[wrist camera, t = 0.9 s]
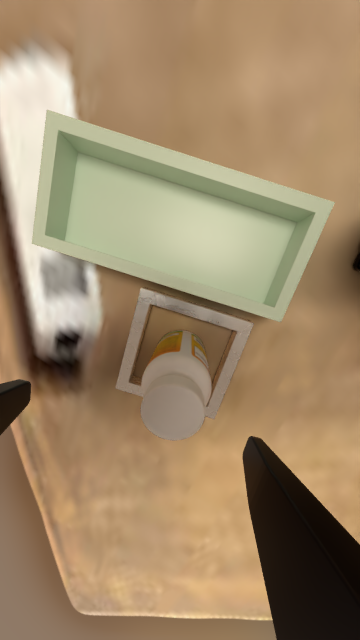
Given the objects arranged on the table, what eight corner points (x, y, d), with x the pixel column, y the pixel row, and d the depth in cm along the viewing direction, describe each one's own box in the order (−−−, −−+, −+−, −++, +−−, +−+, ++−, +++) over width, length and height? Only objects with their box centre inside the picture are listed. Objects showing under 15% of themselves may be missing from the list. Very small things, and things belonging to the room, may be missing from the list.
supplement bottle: (151, 366, 21) (120, 437, 12) (163, 322, 20) (139, 362, 11) (197, 380, 21) (201, 460, 12) (211, 337, 20) (229, 389, 11)
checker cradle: (249, 320, 20) (253, 323, 18) (212, 409, 22) (214, 419, 21) (144, 287, 19) (140, 287, 18) (120, 381, 22) (115, 388, 21)
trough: (306, 217, 17) (334, 202, 14) (265, 314, 19) (280, 322, 16) (75, 143, 17) (46, 109, 14) (60, 249, 19) (31, 243, 16)
